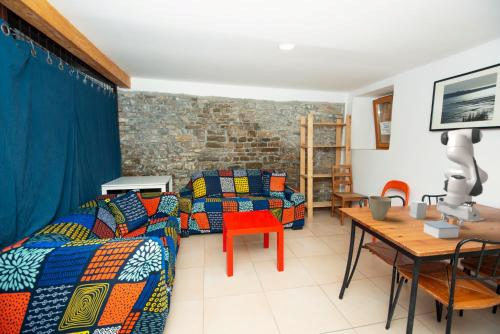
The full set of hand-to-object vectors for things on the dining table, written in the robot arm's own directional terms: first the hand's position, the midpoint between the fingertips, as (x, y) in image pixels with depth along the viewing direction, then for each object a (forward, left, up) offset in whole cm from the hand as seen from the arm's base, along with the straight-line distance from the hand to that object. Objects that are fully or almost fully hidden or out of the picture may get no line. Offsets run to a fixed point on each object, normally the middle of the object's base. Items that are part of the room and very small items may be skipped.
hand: (452, 222), depth 144 cm
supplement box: (-5, -31, -8) cm, 32 cm away
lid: (+7, 0, -3) cm, 7 cm away
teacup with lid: (-13, -12, -8) cm, 19 cm away
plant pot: (+28, -31, -8) cm, 42 cm away
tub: (+8, 0, -8) cm, 11 cm away
